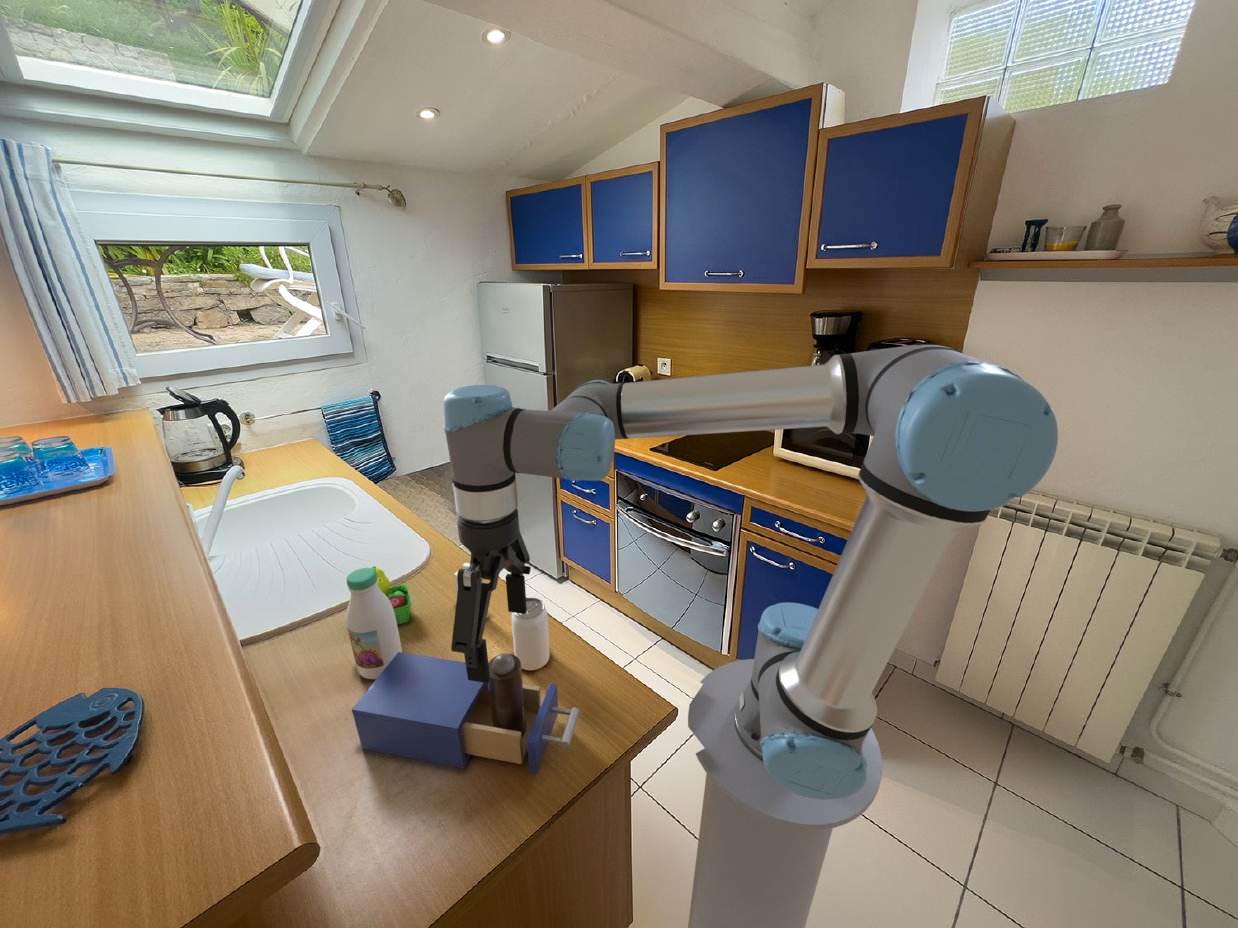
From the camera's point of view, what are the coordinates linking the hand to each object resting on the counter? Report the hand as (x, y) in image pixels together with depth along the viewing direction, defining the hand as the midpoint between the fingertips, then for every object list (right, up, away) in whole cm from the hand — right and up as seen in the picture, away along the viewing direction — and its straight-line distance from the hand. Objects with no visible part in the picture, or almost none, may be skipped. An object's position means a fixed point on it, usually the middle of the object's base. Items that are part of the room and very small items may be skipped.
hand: (500, 642), depth 70 cm
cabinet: (-13, -17, +10) cm, 24 cm away
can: (+1, -12, +23) cm, 26 cm away
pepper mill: (0, -16, +7) cm, 17 cm away
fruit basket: (-32, -7, +33) cm, 46 cm away
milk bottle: (-27, -12, +21) cm, 37 cm away
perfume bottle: (-14, -6, +35) cm, 39 cm away
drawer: (0, -17, +7) cm, 19 cm away
